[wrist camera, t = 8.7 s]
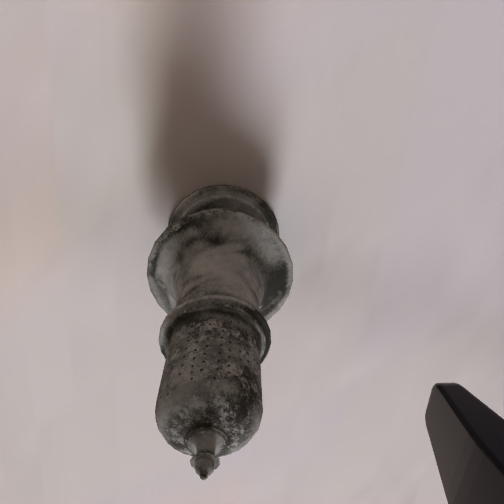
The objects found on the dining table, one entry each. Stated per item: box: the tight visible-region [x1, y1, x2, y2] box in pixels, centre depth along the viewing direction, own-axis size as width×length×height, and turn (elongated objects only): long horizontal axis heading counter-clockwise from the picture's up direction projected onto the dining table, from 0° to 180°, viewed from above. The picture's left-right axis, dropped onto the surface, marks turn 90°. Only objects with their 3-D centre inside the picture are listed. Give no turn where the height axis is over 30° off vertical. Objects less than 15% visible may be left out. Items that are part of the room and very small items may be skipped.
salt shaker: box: [147, 185, 293, 480], centre depth 15 cm, size 6×6×12 cm
